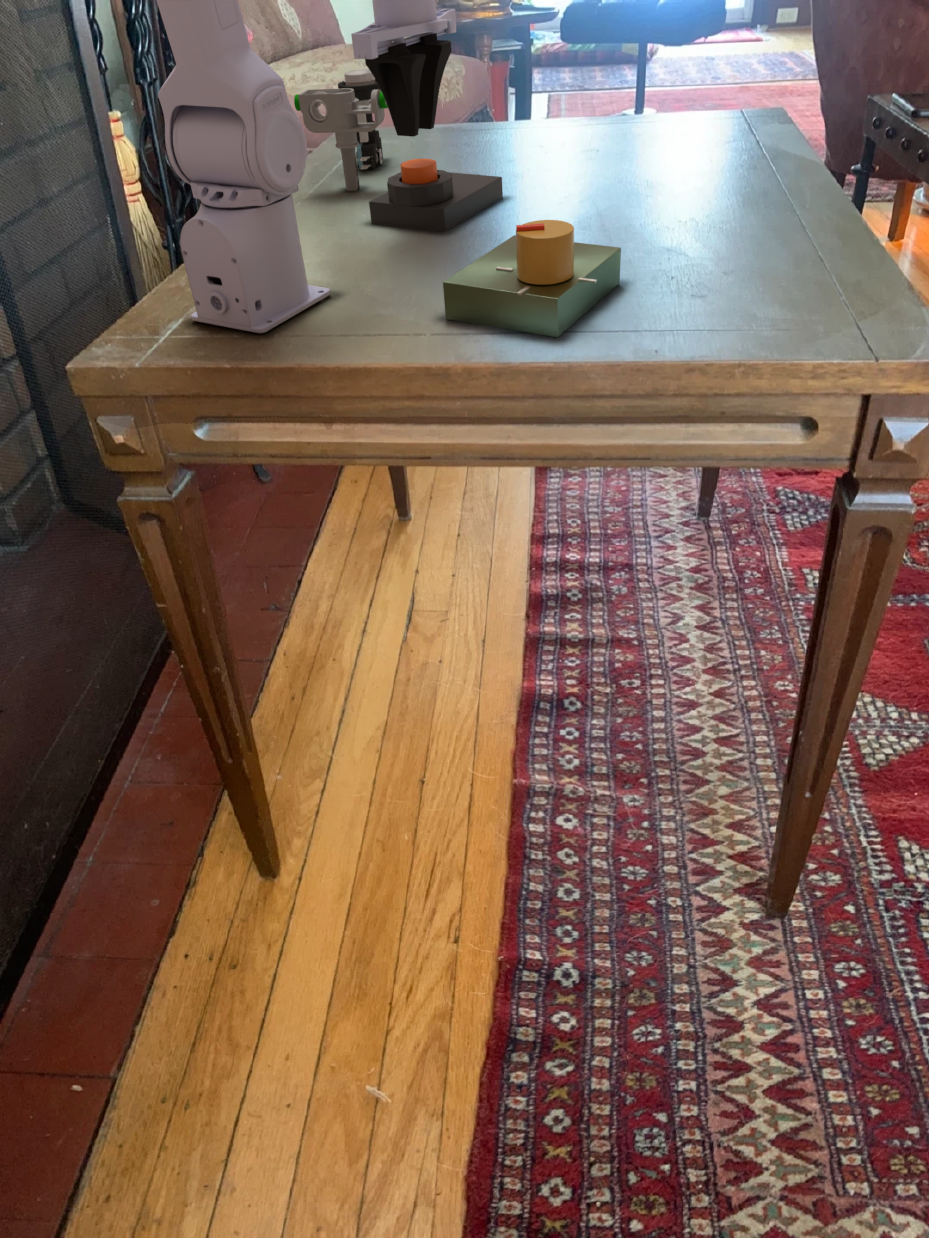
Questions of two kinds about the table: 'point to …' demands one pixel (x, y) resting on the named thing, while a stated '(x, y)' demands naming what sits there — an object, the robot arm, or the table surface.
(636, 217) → the table surface
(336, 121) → the mechanical component
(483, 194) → the box
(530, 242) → the dial knob
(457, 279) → the block
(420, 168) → the button
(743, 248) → the table surface
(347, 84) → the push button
